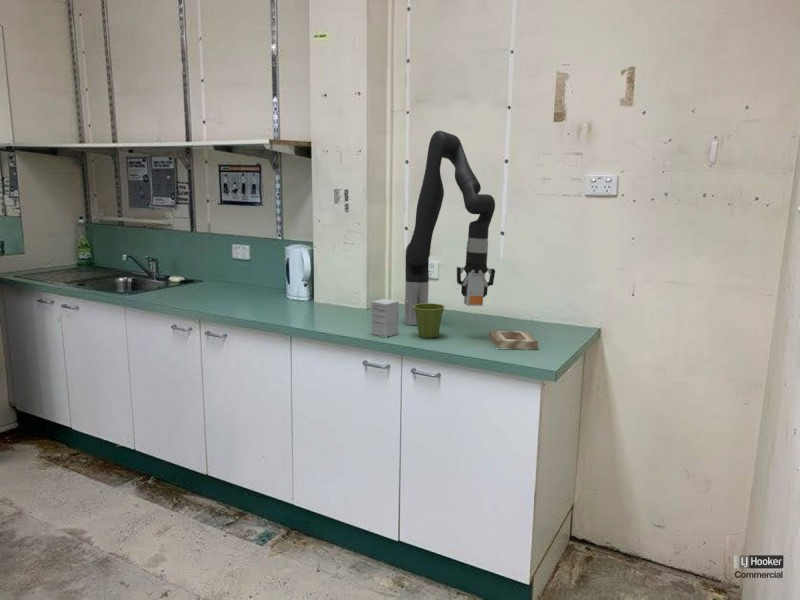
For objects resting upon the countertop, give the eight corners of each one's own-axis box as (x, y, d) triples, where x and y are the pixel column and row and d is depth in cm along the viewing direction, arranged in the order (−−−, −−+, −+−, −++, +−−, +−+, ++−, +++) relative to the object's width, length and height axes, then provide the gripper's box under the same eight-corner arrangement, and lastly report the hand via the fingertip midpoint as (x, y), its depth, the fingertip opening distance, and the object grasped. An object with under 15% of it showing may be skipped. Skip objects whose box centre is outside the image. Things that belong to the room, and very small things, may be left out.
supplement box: (383, 330, 222) (384, 298, 219) (398, 334, 217) (399, 301, 215) (370, 334, 216) (371, 301, 213) (385, 337, 211) (386, 303, 209)
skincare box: (467, 306, 209) (469, 273, 207) (463, 303, 214) (465, 271, 211) (483, 306, 211) (485, 273, 209) (479, 303, 215) (481, 271, 213)
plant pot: (440, 331, 222) (441, 302, 220) (447, 339, 210) (448, 309, 208) (409, 332, 220) (410, 303, 218) (415, 340, 209) (415, 309, 206)
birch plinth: (497, 349, 199) (497, 340, 198) (489, 338, 212) (489, 330, 212) (537, 349, 199) (538, 340, 199) (526, 339, 213) (527, 330, 212)
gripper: (458, 251, 205) (455, 297, 208) (498, 252, 205) (495, 299, 208) (455, 248, 212) (453, 293, 215) (495, 250, 212) (491, 295, 215)
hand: (473, 296), depth 212 cm, fingers closed on skincare box, 6 cm apart
